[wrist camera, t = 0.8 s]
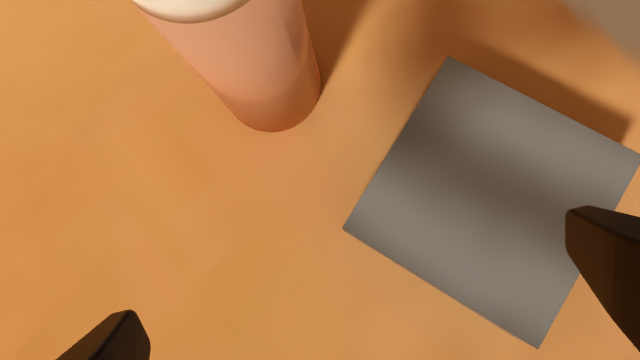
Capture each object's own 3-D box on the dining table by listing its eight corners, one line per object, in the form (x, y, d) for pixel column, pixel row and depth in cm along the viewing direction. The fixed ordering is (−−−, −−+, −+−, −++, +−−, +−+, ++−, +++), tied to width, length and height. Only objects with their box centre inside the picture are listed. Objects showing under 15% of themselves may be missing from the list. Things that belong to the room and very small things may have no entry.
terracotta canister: (287, 149, 25) (206, 38, 13) (208, 102, 26) (59, -46, 14) (339, 68, 26) (312, -117, 13) (259, 25, 27) (163, -186, 14)
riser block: (515, 337, 22) (538, 349, 19) (345, 231, 24) (342, 227, 21) (609, 169, 23) (644, 156, 20) (438, 79, 25) (447, 55, 22)
